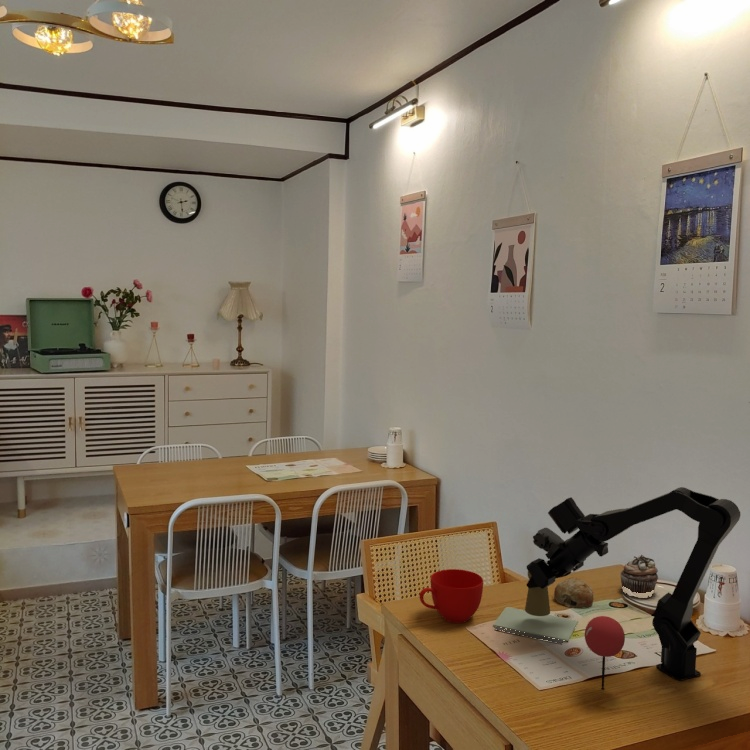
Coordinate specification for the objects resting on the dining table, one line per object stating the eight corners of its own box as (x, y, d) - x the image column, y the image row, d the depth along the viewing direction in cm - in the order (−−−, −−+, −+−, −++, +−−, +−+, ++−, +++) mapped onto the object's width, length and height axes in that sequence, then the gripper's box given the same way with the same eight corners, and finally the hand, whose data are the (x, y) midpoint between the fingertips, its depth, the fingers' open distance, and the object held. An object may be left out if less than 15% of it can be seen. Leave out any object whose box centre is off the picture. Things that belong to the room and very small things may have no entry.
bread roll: (552, 616, 196) (553, 594, 192) (555, 587, 205) (555, 565, 201) (592, 621, 193) (593, 599, 189) (593, 591, 202) (594, 570, 198)
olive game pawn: (553, 609, 183) (554, 565, 182) (545, 618, 178) (547, 573, 177) (529, 604, 186) (530, 561, 185) (521, 612, 181) (522, 568, 180)
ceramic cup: (406, 615, 187) (407, 576, 186) (462, 603, 194) (464, 566, 193) (433, 636, 175) (434, 594, 174) (492, 622, 183) (494, 583, 182)
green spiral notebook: (578, 622, 184) (578, 620, 184) (568, 642, 173) (568, 640, 173) (506, 608, 191) (506, 606, 191) (492, 626, 181) (492, 624, 181)
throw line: (563, 641, 173) (563, 640, 173) (562, 644, 172) (562, 643, 172) (496, 627, 180) (496, 626, 180) (494, 630, 179) (494, 629, 179)
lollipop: (591, 675, 158) (595, 607, 156) (627, 688, 153) (631, 617, 151) (576, 689, 152) (579, 618, 150) (613, 703, 147) (616, 629, 145)
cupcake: (632, 583, 210) (633, 548, 209) (663, 594, 203) (665, 558, 202) (611, 591, 204) (613, 555, 203) (643, 602, 197) (646, 565, 196)
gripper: (573, 512, 184) (532, 546, 192) (535, 528, 170) (492, 564, 178) (602, 550, 179) (559, 583, 188) (566, 570, 166) (521, 605, 174)
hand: (533, 583), depth 182 cm, fingers closed on olive game pawn, 5 cm apart
